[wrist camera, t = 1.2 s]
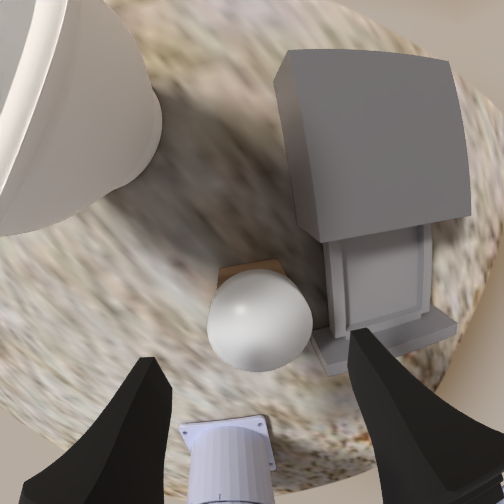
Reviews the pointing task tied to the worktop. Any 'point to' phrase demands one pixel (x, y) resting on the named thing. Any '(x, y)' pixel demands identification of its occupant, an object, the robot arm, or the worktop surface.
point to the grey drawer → (380, 295)
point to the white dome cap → (259, 321)
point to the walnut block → (233, 270)
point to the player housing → (371, 141)
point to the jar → (69, 110)
